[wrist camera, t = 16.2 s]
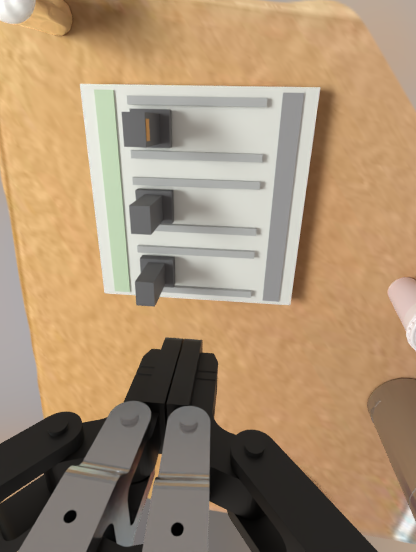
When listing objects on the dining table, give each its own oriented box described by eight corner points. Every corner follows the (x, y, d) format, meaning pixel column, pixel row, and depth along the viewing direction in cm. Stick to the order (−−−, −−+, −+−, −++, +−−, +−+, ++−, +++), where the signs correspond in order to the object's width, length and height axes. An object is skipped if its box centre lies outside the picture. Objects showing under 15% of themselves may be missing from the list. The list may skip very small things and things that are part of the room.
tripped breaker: (171, 109, 35) (155, 107, 28) (172, 147, 36) (157, 152, 30) (132, 108, 35) (109, 106, 29) (135, 146, 36) (113, 151, 30)
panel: (316, 89, 35) (338, 79, 26) (288, 297, 45) (298, 337, 36) (88, 85, 36) (43, 75, 28) (110, 286, 46) (81, 321, 38)
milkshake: (88, 46, 35) (34, 20, 26) (37, 41, 35) (-34, 14, 26) (86, -9, 33) (26, -58, 24) (32, -14, 33) (-47, -65, 24)
